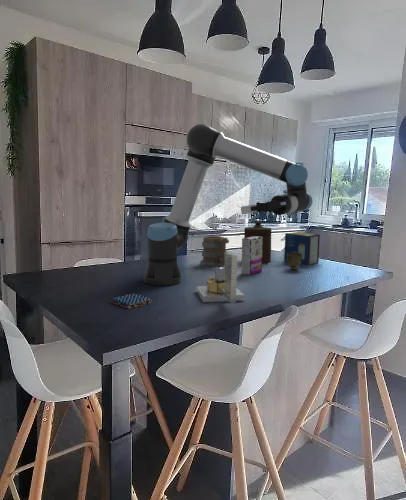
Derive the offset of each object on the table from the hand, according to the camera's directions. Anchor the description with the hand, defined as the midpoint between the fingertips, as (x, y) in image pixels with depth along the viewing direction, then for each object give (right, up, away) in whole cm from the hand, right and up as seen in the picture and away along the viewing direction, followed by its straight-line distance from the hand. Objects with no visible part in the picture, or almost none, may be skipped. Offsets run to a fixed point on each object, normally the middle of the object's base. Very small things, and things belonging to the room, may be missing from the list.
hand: (242, 210), depth 127 cm
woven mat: (-37, -31, -6) cm, 49 cm away
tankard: (-7, -22, +62) cm, 66 cm away
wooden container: (+16, -20, +77) cm, 81 cm away
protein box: (+40, -20, +75) cm, 87 cm away
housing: (-8, -30, +3) cm, 31 cm away
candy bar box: (+9, -24, +44) cm, 51 cm away
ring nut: (-7, -28, -4) cm, 29 cm away
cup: (+31, -23, +53) cm, 66 cm away
